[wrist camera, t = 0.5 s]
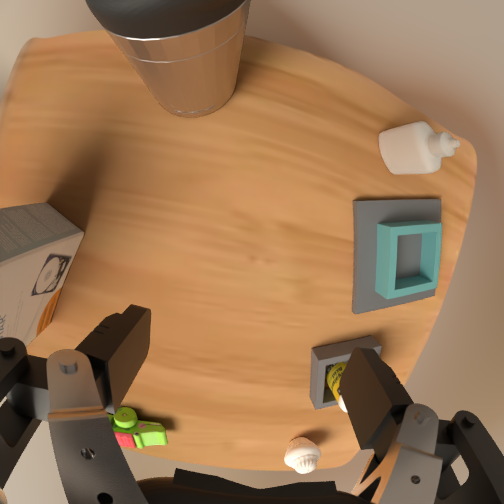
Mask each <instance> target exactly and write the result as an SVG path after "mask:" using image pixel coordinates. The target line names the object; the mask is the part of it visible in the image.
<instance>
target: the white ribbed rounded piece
mask: <svg viewBox="0 0 504 504" xmlns="http://www.w3.org/2000/svg"><path fill="white" fill-rule="evenodd" d="M320 456H321V451H320V449H319V447H317V446H316V444H314V443H313V442H311V441H310V440H308V439H307V438H305V437H298V438H295V439H293V440H292V441H291V442H290V443H289V445H288V448H287V450H286V453H285V458H284V461H285V463H286V464H287V465H288V466H290V467H293V468H294V469H295V470H296V471H297V472H299V473H308V472H310V471H313V470H314V469H315V468H316V466H317V461H318V459H319V458H320Z"/></svg>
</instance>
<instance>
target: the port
mask: <svg viewBox="0 0 504 504" xmlns="http://www.w3.org/2000/svg"><path fill="white" fill-rule="evenodd" d="M353 216H354V275H353V300H352V312H353V313H354V314H359V313H364V312H369V311H374V310H378V309H383V308H387V307H392V306H396V305H400V304H404V303H408V302H412V301H416V300H420V299H424V298H428V297H432V296H435V289H436V288H437V283H438V275H439V265H440V253H441V238H442V223H441V199H393V200H361V201H353Z"/></svg>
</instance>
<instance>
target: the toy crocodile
mask: <svg viewBox="0 0 504 504" xmlns="http://www.w3.org/2000/svg"><path fill="white" fill-rule="evenodd" d="M108 417H109V420H110V423H111V425H112V428H113V431H114V433H115V436H116V438H117V441H118V443H119V445H120V446H124V447H130V448H137V447H138V448H140V449H142V448H143V447H144V446H150V445H167V444H168V440H167V436H166V431H165V428H164V427H163V426H162V425H161V423H155V422H147V421H139V420H137V415H136V413H135V411H134V410H133V409H131V408H129V407H121V408H118V410H117V412H116V413H115V415H114V414H113V415H110V414H108ZM114 420H115V422H114Z"/></svg>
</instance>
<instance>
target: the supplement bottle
mask: <svg viewBox="0 0 504 504" xmlns="http://www.w3.org/2000/svg"><path fill="white" fill-rule="evenodd" d="M347 363H348V360H347V361H343V362H339V363H334V364H330V365H327V366H326V369H325V379H326V381H327V383H328V385H329V387H330V389H331V391H332V393H333V394H334V396H335V398H336V400H337V402H338V404H339V406H340V408H341V409H342V410H343V411H345V412H347V410H346V407H345V404H344V402H343V399H342V396H341V394H340V391H339V382H340V378H341V376H342V373H343V371H344V369H345V367H346V365H347ZM347 413H348V412H347Z"/></svg>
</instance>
